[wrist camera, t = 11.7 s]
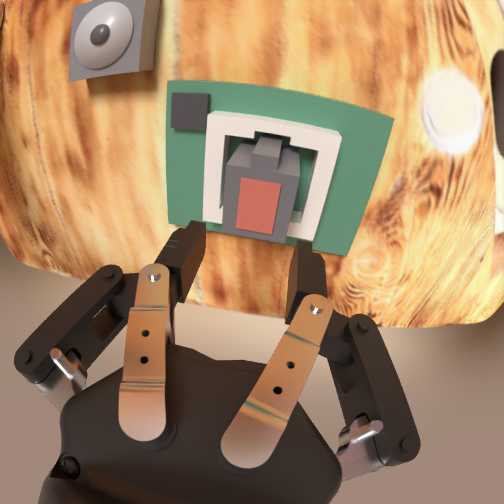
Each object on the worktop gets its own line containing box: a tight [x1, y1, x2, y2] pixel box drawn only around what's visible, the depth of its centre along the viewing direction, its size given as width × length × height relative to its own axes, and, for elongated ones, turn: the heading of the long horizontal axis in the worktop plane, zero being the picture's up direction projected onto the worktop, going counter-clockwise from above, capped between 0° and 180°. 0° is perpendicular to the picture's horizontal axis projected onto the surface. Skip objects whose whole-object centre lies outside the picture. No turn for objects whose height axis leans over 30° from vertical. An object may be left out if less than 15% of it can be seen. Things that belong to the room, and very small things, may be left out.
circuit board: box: [166, 80, 394, 256], centre depth 21 cm, size 18×14×3 cm
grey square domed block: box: [69, 0, 161, 82], centre depth 14 cm, size 8×8×3 cm
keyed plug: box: [222, 133, 300, 244], centre depth 19 cm, size 4×6×6 cm
